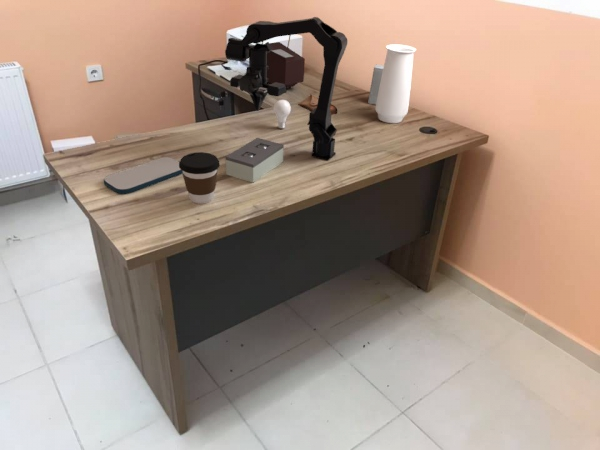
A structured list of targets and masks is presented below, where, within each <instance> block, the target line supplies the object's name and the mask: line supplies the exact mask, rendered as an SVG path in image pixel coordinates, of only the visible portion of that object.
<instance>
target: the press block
mask: <svg viewBox="0 0 600 450" xmlns="http://www.w3.org/2000/svg"><path fill="white" fill-rule="evenodd" d="M261 144H263V145H266V146H267V148H266V149H261V148H258V145H261ZM284 147H285V145H284V144H282V143H280V142H279V143H278V142H274V141H272V140H267V139H263V138H260V137H256V138H255V139H252V140H251V141H250V142H248V143H246V144H244V145H243V146H241V147H240V148H238V149H235V150H234V151H232V152H231V153H229V154H227V155H226V156H225V175H227V176H229V177H234V178H237V179H239V180H243V181H246V182H249V183H255V182H256V181H258V180H260V179H261V178H262V177H264V176H265V175H266V174H267V173H270V172H271V171H272V170H273V169H275V168H276V167H278V166H279V165H281V164H282V163H283V162H284ZM245 153H252V154H253V157H252V158H247V157H244V154H245Z"/></svg>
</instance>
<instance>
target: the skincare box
mask: <svg viewBox="0 0 600 450" xmlns="http://www.w3.org/2000/svg"><path fill="white" fill-rule="evenodd" d="M383 68H384V64H383V65H382V64H375V65H374V67H373V72H372V78H371V84H370V90H369V94H368V100H367V101H368V102H367V103H368V104H369V105H375V106H376V102H377V97H378V92H379V87H380V82H381V77H382V73H383Z"/></svg>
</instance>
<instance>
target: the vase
mask: <svg viewBox="0 0 600 450" xmlns="http://www.w3.org/2000/svg"><path fill="white" fill-rule="evenodd" d="M385 49H386V50H387V51H386V57H385V59H384V64H383V66H384V68H383V73H382V77H381V82H380V87H379V92H378V97H377V102H376V105H375V107H374V108H375V111H376V113H377V119H378V120H380V121H382V122H384V123H388V124H398V123H401V122H402V121H403V119H404V117H405V116H406V115H407V114H408V112H409V106H410V105H409V104H410V96H411V87H412V77H413V67H414V66H413V65H414V53H415V52H416V51H417V48H415V47H414V46H411V45H405V44H388V45H386V46H385Z"/></svg>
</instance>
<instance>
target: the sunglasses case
mask: <svg viewBox="0 0 600 450" xmlns="http://www.w3.org/2000/svg"><path fill="white" fill-rule="evenodd" d="M318 99H319V97H316V96H314V95H313V94H311V93H310V94H309V96H307V97H306V98H305V99H303V100H302V101H300V102H299V103H297V104H298V105H297V106H299V105H300V106H299V107H302V108H304V109H306V110H308V111H309V112H311V111H312V110H313V109H314V108H317V104H318ZM330 110H331V116H333V115H337V114H338V108H337V107H336V106H335V105H334V104H332V103H331V105H330Z"/></svg>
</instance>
